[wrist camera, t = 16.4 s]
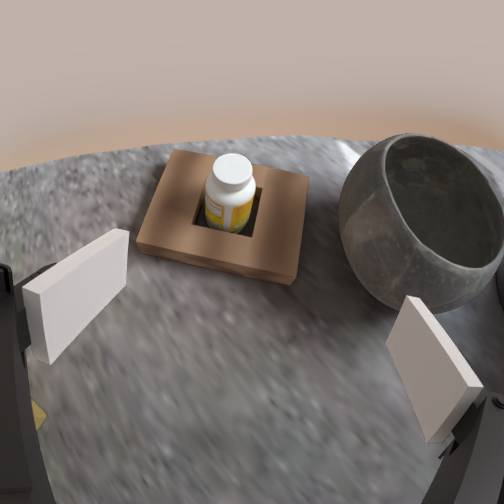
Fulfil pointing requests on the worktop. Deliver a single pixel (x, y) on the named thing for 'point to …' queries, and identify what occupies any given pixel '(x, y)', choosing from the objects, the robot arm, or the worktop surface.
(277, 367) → the worktop surface
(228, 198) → the supplement bottle
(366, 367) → the worktop surface
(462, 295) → the bowl
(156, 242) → the well board
